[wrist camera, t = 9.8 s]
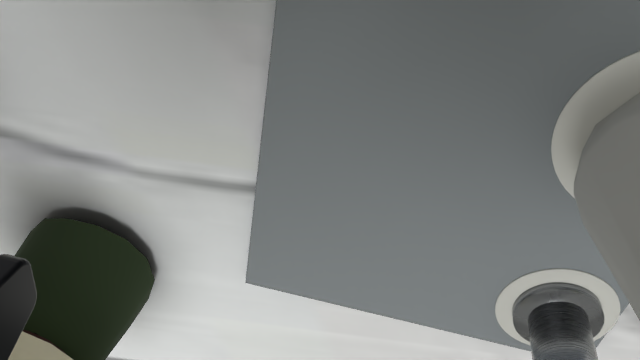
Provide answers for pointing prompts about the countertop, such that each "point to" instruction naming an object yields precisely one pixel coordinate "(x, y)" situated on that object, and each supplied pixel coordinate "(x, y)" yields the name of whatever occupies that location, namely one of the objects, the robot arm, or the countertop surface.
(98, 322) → the character mug
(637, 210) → the salt shaker
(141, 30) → the countertop surface
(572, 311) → the steel pin
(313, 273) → the mat
